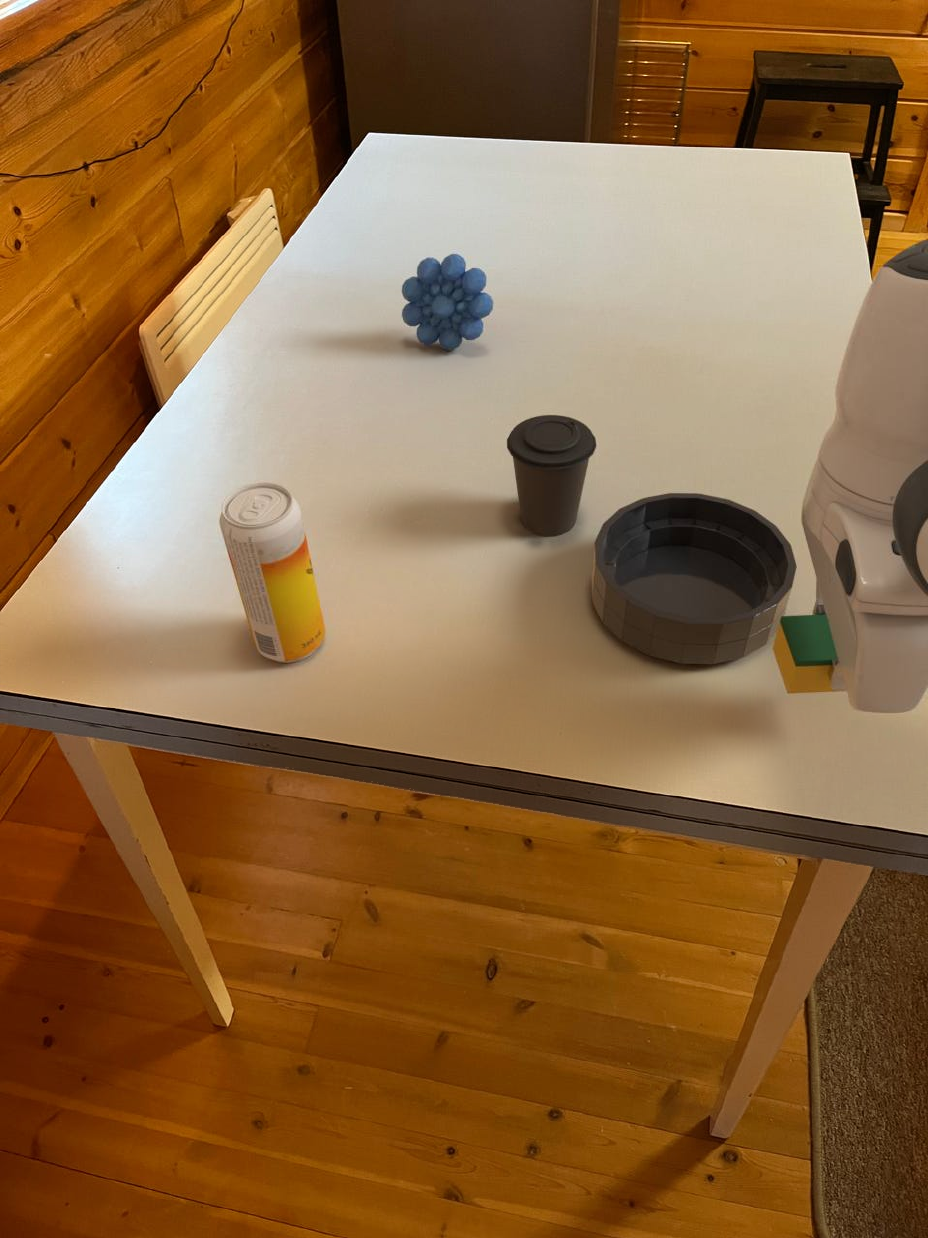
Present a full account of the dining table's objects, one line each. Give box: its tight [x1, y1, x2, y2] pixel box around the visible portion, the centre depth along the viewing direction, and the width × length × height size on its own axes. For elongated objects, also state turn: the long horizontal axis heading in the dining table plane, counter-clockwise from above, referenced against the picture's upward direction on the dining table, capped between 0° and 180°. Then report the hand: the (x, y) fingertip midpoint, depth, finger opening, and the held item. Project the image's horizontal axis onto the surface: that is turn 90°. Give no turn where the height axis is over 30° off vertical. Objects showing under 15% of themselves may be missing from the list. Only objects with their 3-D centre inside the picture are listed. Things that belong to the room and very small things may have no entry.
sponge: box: [772, 614, 841, 695], centre depth 67 cm, size 7×4×4 cm, turn 90°
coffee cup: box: [506, 414, 597, 537], centre depth 86 cm, size 8×8×10 cm
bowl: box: [591, 492, 798, 665], centre depth 79 cm, size 16×16×6 cm
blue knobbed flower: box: [401, 253, 494, 351], centre depth 110 cm, size 12×7×12 cm, turn 70°
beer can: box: [218, 481, 326, 664], centre depth 74 cm, size 6×6×15 cm
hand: (833, 653), depth 67 cm, fingers closed on sponge, 4 cm apart
